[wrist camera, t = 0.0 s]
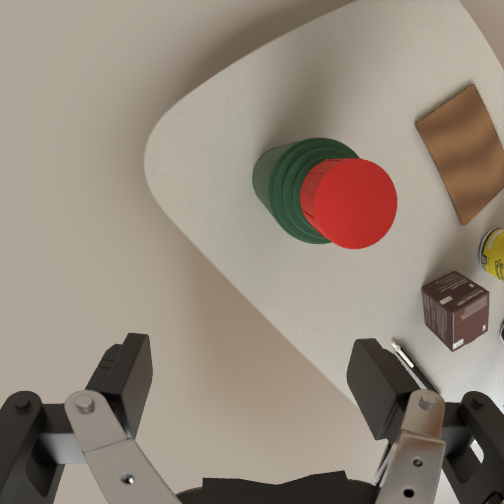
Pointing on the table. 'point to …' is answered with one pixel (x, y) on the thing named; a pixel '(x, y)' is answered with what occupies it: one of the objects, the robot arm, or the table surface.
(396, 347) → the pen
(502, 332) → the beverage can
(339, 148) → the bottle
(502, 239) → the pill bottle
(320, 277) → the table surface
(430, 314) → the box
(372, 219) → the cap
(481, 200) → the plate
